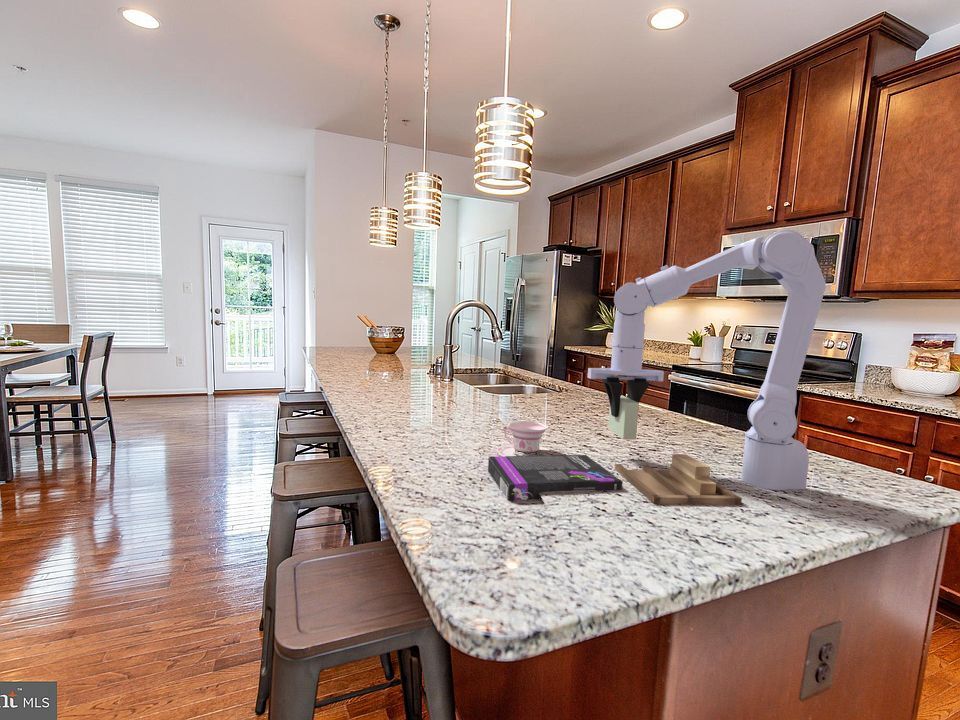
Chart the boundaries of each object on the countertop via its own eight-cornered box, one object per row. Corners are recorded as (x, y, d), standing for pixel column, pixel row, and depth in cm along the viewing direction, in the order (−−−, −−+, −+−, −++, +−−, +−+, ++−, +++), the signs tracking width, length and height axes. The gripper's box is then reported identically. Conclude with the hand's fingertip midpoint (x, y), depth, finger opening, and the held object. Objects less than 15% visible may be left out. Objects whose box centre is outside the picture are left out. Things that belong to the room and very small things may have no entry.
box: (506, 506, 73) (622, 499, 77) (507, 484, 73) (624, 478, 77) (487, 474, 87) (587, 470, 91) (487, 456, 87) (588, 452, 91)
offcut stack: (684, 474, 86) (686, 453, 86) (716, 495, 77) (718, 471, 76) (668, 474, 86) (670, 453, 86) (698, 495, 76) (700, 471, 76)
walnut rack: (686, 475, 89) (687, 465, 89) (740, 510, 73) (741, 498, 73) (614, 474, 88) (615, 464, 88) (653, 510, 72) (654, 497, 72)
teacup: (556, 450, 103) (558, 422, 103) (552, 466, 91) (554, 435, 91) (502, 444, 106) (503, 417, 105) (491, 459, 94) (492, 429, 94)
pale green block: (619, 429, 98) (622, 395, 97) (635, 439, 90) (638, 403, 89) (608, 428, 97) (610, 395, 97) (623, 439, 89) (625, 402, 89)
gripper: (654, 347, 97) (649, 412, 98) (584, 344, 95) (580, 411, 97) (671, 349, 90) (665, 420, 91) (596, 346, 88) (591, 418, 90)
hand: (622, 416), depth 93 cm, fingers closed on pale green block, 2 cm apart
